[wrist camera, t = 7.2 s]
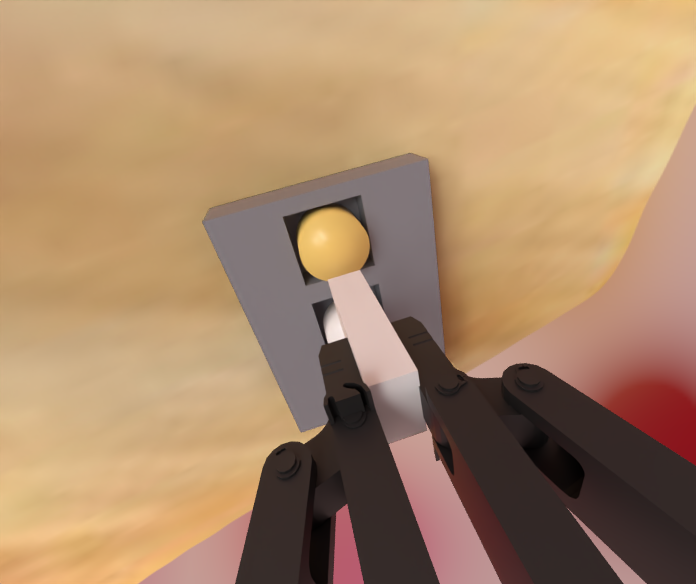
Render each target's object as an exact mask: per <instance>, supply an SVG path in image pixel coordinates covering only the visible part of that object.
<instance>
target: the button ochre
mask: <svg viewBox="0 0 696 584" xmlns="http://www.w3.org/2000/svg"><path fill="white" fill-rule="evenodd" d="M296 240H297V245H298V249H299V254H300V258H301V261H302V264H303V265H304V267H305V268H306V270H307V271H308V272H309V273H310V274H311V275H313V276H314V277H316V278H318V279H321V280H324V281H328V279H331V278H335V277H338V276H341V275H345V274H348V273H351V272H354V271H358V270H360V269H361V268H362V267H363V265H364V264H365V262H366V260H367V258H368V254H369V249H370V243H369V238H368V235H367V232H366V231H365V229H364V227H363V226H362V225H361V224H360V222H359V221H358V220H357V219H356V217H355V216H354V215H353V214H352V212H351V211H349V210H348V209H347V208H346V207H344V206H342V205H339V204H335V203H330V204H327V205H323V206H320V207H316V208H313V209H309V210H308V211H307V212H306V213H305V214H304V215H303V216H302V217H301V219H300V221H299V223H298V226H297V230H296Z"/></svg>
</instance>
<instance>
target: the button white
mask: <svg viewBox="0 0 696 584" xmlns="http://www.w3.org/2000/svg"><path fill="white" fill-rule="evenodd" d="M323 326H324V330H325V334H326V338H327V342H328V343H331V342H334V341H337V340H340V339H344V338H345V336H344V333H343V330H342V327H341V324H340V320H339V317H338V314H337V310H336V307H335V303H334V302H332V303H331V304H330V305H329V307H328V308H327V310H326V311H325V314H324V317H323Z"/></svg>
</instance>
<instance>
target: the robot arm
mask: <svg viewBox="0 0 696 584" xmlns="http://www.w3.org/2000/svg"><path fill="white" fill-rule="evenodd" d="M328 283H329V286H330V290H331V293H332V297H333V300H334V303H335V307H336V310H337V314H338V317H339V320H340V324H341V327H342V330H343V333H344V336H345V338H344V339H340V340H337V341H334V342H331V343H328V344H325V345H322V346H321V349H320V352H319V356H318V357H319V362H320V366H321V371H322V375H323V380H324V385H325V390H326V395H325V397H324V403H323V406H324V409H325V411H326V414H327V417H328V419H329V420H328V422H327V424H326V426H325V427H324V428H323V430H322V431H321V432H320V433H319V434H318V435H316V436H315V437H314V438H312V439H311V440H310V441H308V442H307V443H305V444H302V443H300V442H288V443H284V444H282V445H280V446H279V447H277V448H276V449H274V450H273V451H272V452H271V454H270V455H269V456H268V457H267V459H266V461H265V464H264V466H263V469H262V473H261V477H260V482H259V486H258V490H257V494H256V498H255V503H254V507H253V511H252V515H251V520H250V524H249V528H248V532H247V536H246V541H245V545H244V550H243V553H242V558H241V562H240V566H239V570H238V574H237V578H236V583H235V584H333V571H334V547H335V523H336V512H337V511H338V510H340V509H341V508H342V507H343V506H345V505H346V504H348V509H349V514H350V518H351V523H352V528H353V533H354V538H355V542H356V547H357V551H358V557H359V561H360V566H361V571H362V575H363V580H364V584H440V583H439V580H438V578H437V575H436V572H435V570H434V567H433V564H432V561H431V559H430V556H429V553H428V551H427V548H426V545H425V542H424V540H423V537H422V534H421V532H420V529H419V526H418V524H417V521H416V518H415V515H414V513H413V510H412V507H411V504H410V502H409V499H408V496H407V493H406V491H405V488H404V485H403V483H402V480H401V477H400V474H399V472H398V469H397V467H396V464H395V461H394V458H393V455H392V453H391V450H390V447H389V444H390V443H393V442H395V441H398V440H401V439H404V438H407V437H410V436H413V435H416V434H419V433H421V432H424V431H427V428H426V424H427V425H428V428H429V429H430V431H431V433H432V439H433V445H434V453H435V458H436V461H438V460H440V459H441V461H442V463H443V465H444V467H445V469H446V471H447V473H448V475H449V477H450V479H451V482H452V484H453V486H454V488H455V489H456V492H457V494H458V496H459V498H460V500H461V502H462V504H463V506H464V508H465V510H466V512H467V514H468V516H469V518H470V520H471V522H472V524H473V526H474V528H475V530H476V532H477V534H478V536H479V538H480V540H481V542H482V544H483V547H484V549H485V550H486V553H487V555H488V557H489V559H490V561H491V563H492V565H493V567H494V569H495V571H496V573H497V575H498V577H499V579H500V581H501V583H502V584H623V582H622V581H621V580H620V578H619V577H618V576H617V574H616V573H615V572H614V570H613V569H612V568H611V566H610V565H609V564H608V562H607V561H606V560H605V558H604V557H603V556H602V554H601V553H600V551H599V550H598V549H597V547H596V546H595V545H594V544H593V542H592V541H591V539H590V538H589V537H588V535H587V534H586V533H585V531H584V530H583V529H582V527H581V526H580V525H579V523H578V522H577V521H576V519H575V518H574V517H573V515H572V514H571V513H570V511H571V512H572V513H573V514H575V515H576V516H577V517H578V518H579V519H580V520H581V521H582V522H583V523H584V524H585V525H586V526H587V527H588V528H589V529H590V530H591V531H592V532H593V533H594V534H595V535H596V536H598V537H599V538H600V539H601V540H602V541H603V542H604V543H605V544H606V545H607V546H608V547H609V548H610V549H611V550H612V551H613V552H614V553H615V554H617V556H619V557H620V558H621V559H622V560H623V561H624V562H625V563H626V564H627V565H628V566H629V567H630V568H631V569H632V570H633V571H634V572H635V573H636V574H637V575H639V577H640V578H641V579H643V580H644V581H645V582H646V583H647V584H696V466H695V465H694V464H692V463H691V462H689V461H687V460H686V459H684V458H683V457H681V456H680V455H678V454H676V453H675V452H673V451H672V450H670V449H669V448H667V447H666V446H664V445H662V444H661V443H659V442H658V441H656V440H654V439H653V438H651V437H650V436H648V435H647V434H645V433H644V432H642V431H641V430H639V429H638V428H636V427H634V426H633V425H631V424H629V423H628V422H627V421H625V420H623V419H622V418H620V417H619V416H617V415H616V414H614V413H613V412H611V411H610V410H608V409H606V408H605V407H603V406H602V405H600V404H599V403H597V402H595V401H594V400H592V399H591V398H589V397H588V396H586V395H585V394H583V393H581V392H580V391H578V390H577V389H575V388H574V387H572V386H571V385H569V384H567V383H566V382H564V381H563V380H561V379H559V378H558V377H557V376H555V375H553V374H552V373H550V372H549V371H547V370H545V369H543V368H541V367H539V366H537V365H533V364H527V363H524V364H515V365H512V366H510V367H508V368H507V369H506V370H505V371H504V372H503V376H502V377H501V378H473V377H469V376H467V375H466V374H465V373H464V372H462V371H459V370H457V369H455V368H454V367H453V366H452V364H451V363H450V361H449V360H448V359H447V357H446V356H445V354H444V353H443V352H442V350H441V349H440V347H439V346H438V345H437V343H436V342H435V341H434V340H433V338H432V336H431V335H430V334H429V333H428V331H427V329H426V328H425V327H424V325H423V324H422V322H420V321H418V320H417V319H415V318H413V317H411V316H410V317H407V318H403V319H400V320H397V321H394V322H391V323H390V321H389V320H388V318H387V316H386V314H385V313H384V311H383V309H382V307H381V306H380V304H379V302H378V300H377V299H376V297H375V295H374V294H373V292H372V290H371V288H370V287H369V285H368V283H367V281H366V280H365V278H364V276H363V274H362V273H361V271H360V270H358V271H354V272H351V273H348V274H345V275H341V276H338V277H335V278H331V279H328ZM439 457H440V458H439ZM567 508H568V509H569V510H570V511H569V510H568V509H567Z"/></svg>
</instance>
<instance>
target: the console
mask: <svg viewBox="0 0 696 584" xmlns="http://www.w3.org/2000/svg"><path fill="white" fill-rule="evenodd" d="M330 203H335V204H339V205H342V206H344V207H346V208H347V209H348V210H349V211H351V212H352V214H353V215H354V216H355V217H356V219H357V220H358V221H359V222H360V224H361V225H362V226H363V227H364V229H365V231H366V232H367V235H368V238H369V243H370V249H369V254H368V258H367V260H366V262H365V264H364V265H363V267H362V268H361V269H360V271H361V273H362V274H363V276H364V278H365V280H366V281H367V283H368V285H369V287H370V288H371V290H372V292H373V294H374V295H375V297H376V299H377V300H378V302H379V304H380V306H381V307H382V309H383V311H384V313H385V314H386V316H387V318H388V320H389V321H390V323H391V322H394V321H397V320H400V319H403V318H407V317H410V316H411V317H413V318H415V319H417V320H418V321H420V322H422V324H423V325H424V327H425V328H426V329H427V331H428V333H429V334H430V335H431V336H432V338H433V340H434V341H435V342H436V343H437V345H438V346H439V347H440V349H441V350H442V352H443V353H444V354H445V347H444V336H443V324H442V313H441V301H440V289H439V278H438V266H437V255H436V243H435V232H434V220H433V209H432V197H431V185H430V174H429V162H428V159H427V158H424V157H421V156H418V155H415V154H412V153H408V154H404V155H401V156H397V157H394V158H390V159H386V160H383V161H379V162H375V163H372V164H368V165H365V166H361V167H357V168H354V169H350V170H347V171H343V172H339V173H336V174H332V175H328V176H325V177H321V178H318V179H314V180H310V181H307V182H303V183H299V184H296V185H292V186H289V187H285V188H281V189H278V190H274V191H271V192H267V193H263V194H260V195H256V196H252V197H249V198H245V199H242V200H238V201H234V202H231V203H227V204H223V205H220V206H216V207H213V208H210V209H209V211H208V212H207V214H206V216H205V218H204V220H203V221H202V223H203V225H204V227H205V229H206V231H207V233H208V235H209V237H210V240H211V242H212V244H213V246H214V248H215V250H216V252H217V255H218V257H219V259H220V261H221V263H222V265H223V267H224V270H225V272H226V274H227V276H228V278H229V280H230V282H231V284H232V287H233V289H234V291H235V293H236V295H237V297H238V299H239V302H240V304H241V306H242V308H243V310H244V312H245V314H246V317H247V319H248V321H249V323H250V325H251V327H252V329H253V331H254V334H255V336H256V338H257V340H258V342H259V344H260V346H261V349H262V351H263V353H264V355H265V357H266V359H267V361H268V363H269V366H270V368H271V370H272V372H273V374H274V376H275V378H276V381H277V383H278V385H279V387H280V389H281V391H282V393H283V396H284V398H285V400H286V402H287V404H288V406H289V408H290V410H291V413H292V415H293V417H294V419H295V421H296V423H297V425H298V428H299V430H300V432H304V431H307V430H310V429H313V428H316V427H319V426H322V425H325V424H327V422H328V420H329V419H328V417H327V414H326V411H325V409H324V406H323V403H324V397H325V395H326V390H325V385H324V380H323V375H322V371H321V366H320V362H319V357H318V356H319V352H320V349H321V346H322V345H325V344H328V342H327V338H326V334H325V330H324V326H323V317H324V314H325V311H326V310H327V308H328V307H329V305H330V304H331V303H332V302H334V300H333V297H332V293H331V290H330V286H329V283H328V281H324V280H321V279H318V278H316V277H314V276H313V275H311V274H310V273H309V272H308V271H307V270H306V268H305V267H304V265H303V264H302V261H301V258H300V254H299V249H298V245H297V240H296V230H297V226H298V223H299V221H300V219H301V217H302V216H303V215H304V214H305V213H306V212H307V211H308V210H309V209H313V208H316V207H320V206H323V205H327V204H330Z"/></svg>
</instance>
